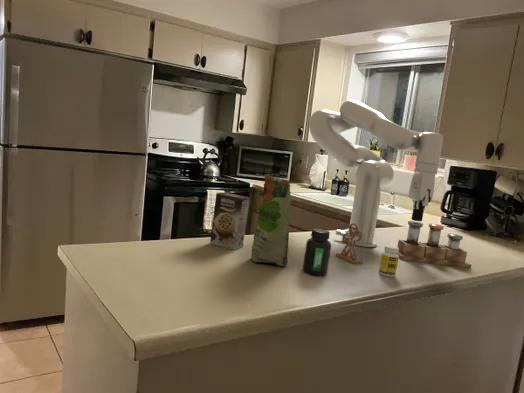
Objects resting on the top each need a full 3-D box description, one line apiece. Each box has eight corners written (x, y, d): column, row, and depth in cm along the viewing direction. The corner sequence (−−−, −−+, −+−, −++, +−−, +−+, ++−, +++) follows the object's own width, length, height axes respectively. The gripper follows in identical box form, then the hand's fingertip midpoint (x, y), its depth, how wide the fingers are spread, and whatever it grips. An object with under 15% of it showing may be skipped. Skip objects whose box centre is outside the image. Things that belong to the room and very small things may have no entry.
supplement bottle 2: (386, 277, 127) (391, 249, 126) (375, 271, 131) (380, 244, 130) (398, 276, 129) (403, 249, 128) (387, 271, 133) (392, 244, 132)
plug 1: (407, 245, 152) (411, 223, 151) (402, 242, 157) (406, 220, 156) (421, 247, 153) (425, 224, 152) (415, 243, 158) (419, 222, 157)
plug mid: (428, 248, 153) (432, 225, 152) (422, 244, 158) (426, 222, 157) (442, 249, 153) (446, 227, 152) (435, 246, 158) (440, 224, 157)
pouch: (280, 271, 119) (294, 179, 115) (240, 261, 122) (252, 172, 119) (292, 262, 129) (304, 178, 126) (254, 253, 133) (265, 171, 129)
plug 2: (447, 258, 154) (451, 236, 153) (441, 254, 159) (445, 232, 158) (461, 259, 154) (465, 237, 153) (454, 256, 159) (458, 234, 158)
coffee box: (208, 244, 136) (215, 193, 134) (218, 240, 142) (224, 191, 140) (235, 250, 133) (242, 198, 131) (244, 246, 139) (250, 196, 137)
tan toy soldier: (334, 256, 143) (340, 220, 141) (343, 255, 145) (349, 220, 143) (352, 264, 136) (359, 226, 134) (362, 264, 138) (368, 227, 136)
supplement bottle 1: (320, 278, 117) (327, 234, 115) (297, 271, 121) (304, 229, 119) (330, 273, 123) (337, 232, 121) (308, 267, 126) (315, 226, 125)
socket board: (400, 259, 150) (403, 244, 150) (390, 251, 160) (393, 237, 160) (470, 268, 152) (473, 253, 151) (456, 259, 162) (459, 246, 161)
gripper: (407, 165, 159) (398, 215, 161) (424, 168, 144) (414, 223, 146) (427, 168, 159) (418, 217, 161) (446, 171, 144) (436, 226, 147)
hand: (416, 220), depth 154 cm, fingers closed
